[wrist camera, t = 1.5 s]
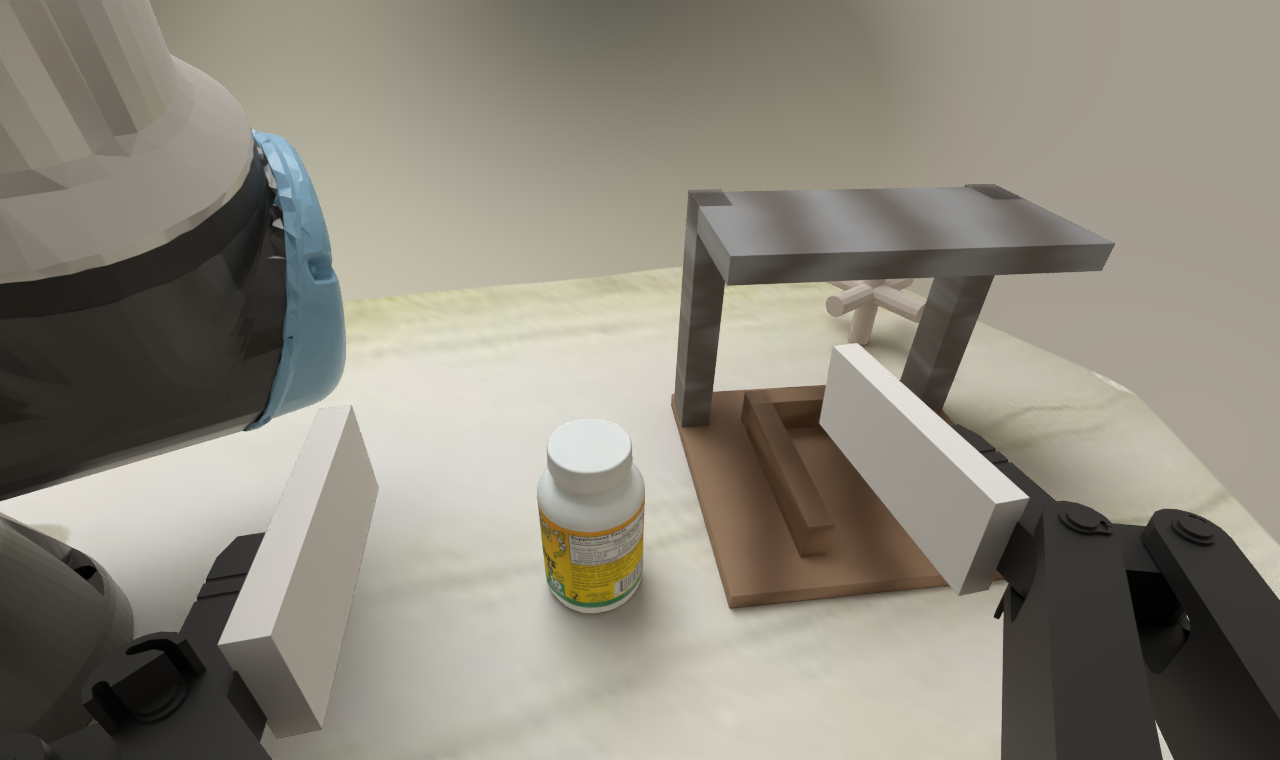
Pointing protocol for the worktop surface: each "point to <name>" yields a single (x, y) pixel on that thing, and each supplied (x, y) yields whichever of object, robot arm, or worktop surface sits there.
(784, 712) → the worktop surface
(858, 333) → the pipe connector
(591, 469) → the supplement bottle
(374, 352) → the worktop surface
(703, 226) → the keeper holder
